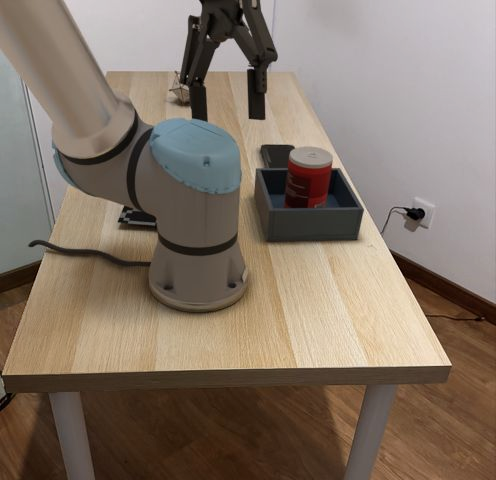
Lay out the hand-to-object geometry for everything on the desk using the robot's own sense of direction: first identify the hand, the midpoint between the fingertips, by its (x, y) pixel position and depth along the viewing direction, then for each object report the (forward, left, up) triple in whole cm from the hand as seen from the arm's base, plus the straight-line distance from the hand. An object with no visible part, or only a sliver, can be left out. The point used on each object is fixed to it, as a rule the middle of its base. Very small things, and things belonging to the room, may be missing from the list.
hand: (227, 125), depth 83 cm
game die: (-4, +68, -19) cm, 70 cm away
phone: (+15, +29, -19) cm, 38 cm away
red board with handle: (-11, +16, -19) cm, 27 cm away
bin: (+15, +5, -19) cm, 25 cm away
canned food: (+15, +5, -18) cm, 24 cm away
